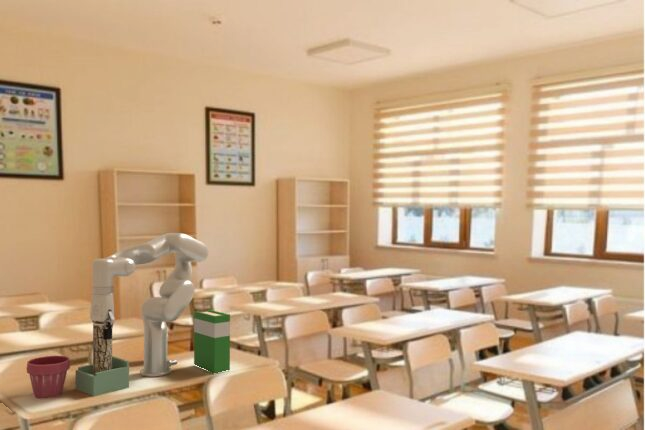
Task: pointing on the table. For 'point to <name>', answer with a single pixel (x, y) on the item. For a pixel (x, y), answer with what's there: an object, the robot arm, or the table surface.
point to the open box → (103, 378)
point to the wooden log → (101, 349)
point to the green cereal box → (212, 340)
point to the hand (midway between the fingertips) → (102, 337)
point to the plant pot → (48, 375)
